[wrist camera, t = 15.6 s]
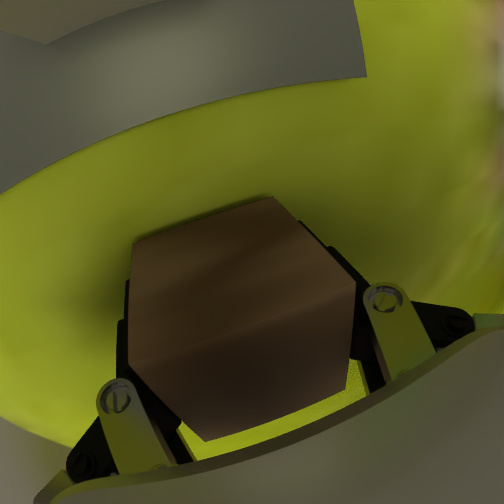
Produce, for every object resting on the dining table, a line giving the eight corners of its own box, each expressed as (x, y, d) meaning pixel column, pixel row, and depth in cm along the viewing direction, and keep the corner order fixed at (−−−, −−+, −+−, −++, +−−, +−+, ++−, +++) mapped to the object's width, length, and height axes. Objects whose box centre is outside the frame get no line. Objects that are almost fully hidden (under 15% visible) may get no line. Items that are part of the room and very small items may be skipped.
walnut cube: (272, 196, 10) (355, 281, 6) (289, 299, 13) (345, 389, 9) (132, 243, 9) (128, 363, 5) (181, 337, 12) (205, 441, 8)
